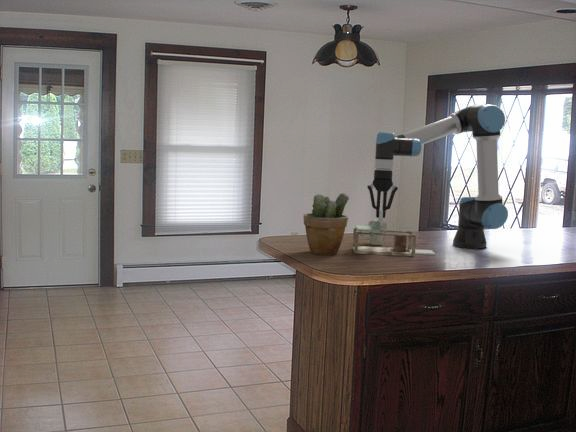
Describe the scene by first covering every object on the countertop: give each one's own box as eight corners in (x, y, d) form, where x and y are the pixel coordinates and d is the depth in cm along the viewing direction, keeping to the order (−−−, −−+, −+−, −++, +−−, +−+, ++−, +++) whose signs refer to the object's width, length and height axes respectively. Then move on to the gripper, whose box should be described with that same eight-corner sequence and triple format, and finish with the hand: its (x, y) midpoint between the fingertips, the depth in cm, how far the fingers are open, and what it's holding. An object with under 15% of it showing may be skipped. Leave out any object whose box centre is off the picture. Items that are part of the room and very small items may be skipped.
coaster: (431, 251, 301) (431, 250, 301) (435, 255, 292) (435, 253, 292) (410, 250, 301) (410, 249, 301) (413, 254, 292) (414, 252, 292)
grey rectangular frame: (410, 251, 299) (411, 231, 298) (414, 256, 287) (416, 235, 286) (352, 248, 299) (353, 228, 298) (354, 253, 287) (355, 232, 286)
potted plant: (315, 257, 273) (318, 194, 270) (293, 249, 289) (296, 190, 286) (354, 255, 282) (357, 194, 279) (330, 248, 298) (334, 190, 295)
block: (404, 252, 295) (405, 234, 294) (405, 254, 291) (406, 235, 290) (393, 252, 295) (394, 233, 294) (394, 253, 291) (396, 235, 290)
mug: (385, 246, 310) (386, 224, 309) (357, 244, 312) (358, 222, 311) (386, 243, 318) (387, 222, 317) (359, 241, 320) (360, 220, 319)
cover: (376, 228, 298) (376, 219, 298) (379, 232, 286) (380, 222, 285) (355, 227, 298) (356, 218, 298) (357, 231, 286) (358, 221, 286)
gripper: (397, 169, 293) (394, 225, 295) (367, 168, 293) (363, 223, 296) (400, 170, 285) (396, 227, 288) (368, 169, 285) (365, 225, 288)
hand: (380, 225), depth 292 cm, fingers closed
